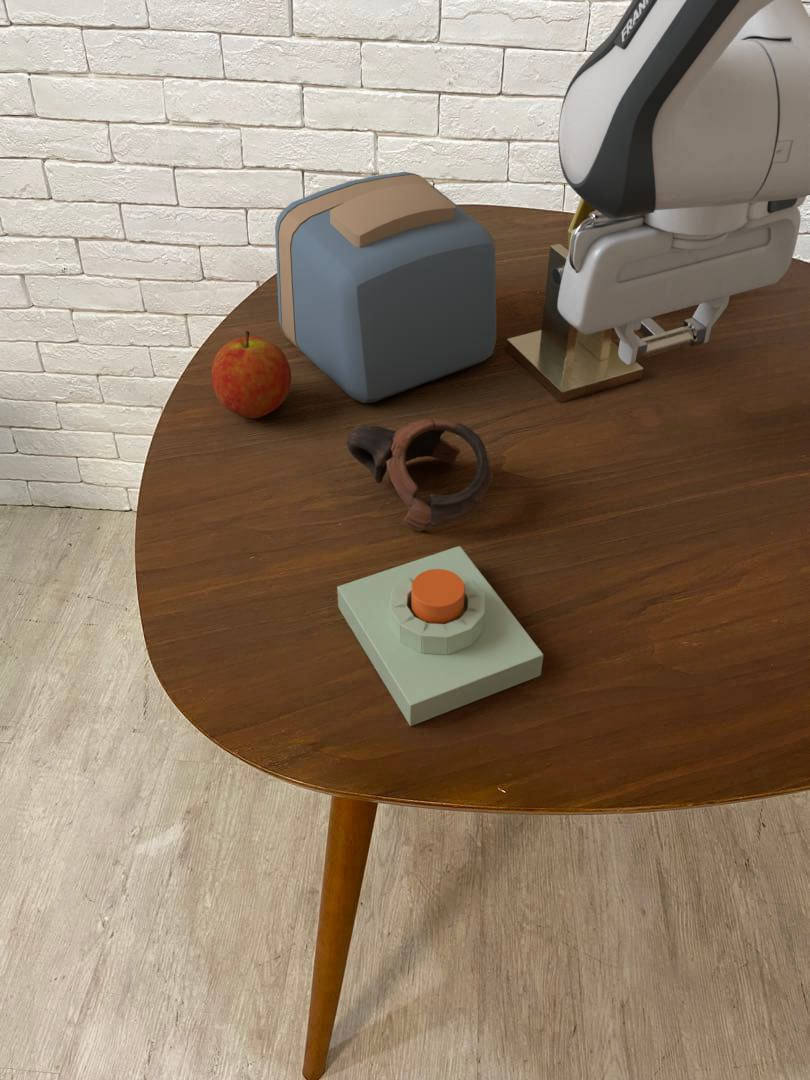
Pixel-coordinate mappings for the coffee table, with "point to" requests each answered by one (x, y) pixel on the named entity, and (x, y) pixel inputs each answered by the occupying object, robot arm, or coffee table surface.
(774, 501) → the coffee table surface
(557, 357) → the bracket
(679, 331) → the lever
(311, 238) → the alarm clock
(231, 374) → the fruit
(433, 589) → the button
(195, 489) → the coffee table surface
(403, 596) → the button block
